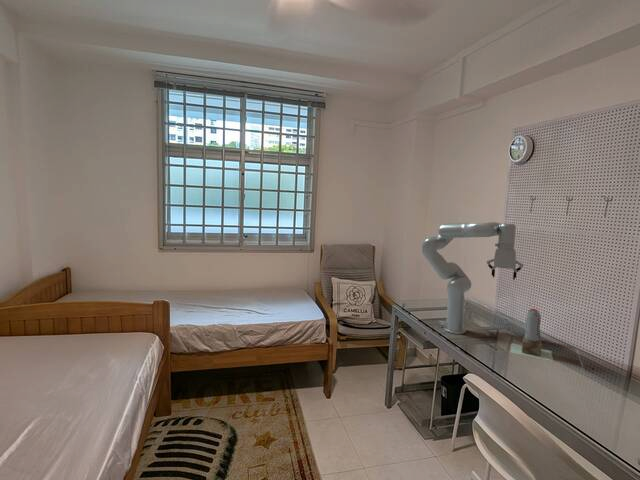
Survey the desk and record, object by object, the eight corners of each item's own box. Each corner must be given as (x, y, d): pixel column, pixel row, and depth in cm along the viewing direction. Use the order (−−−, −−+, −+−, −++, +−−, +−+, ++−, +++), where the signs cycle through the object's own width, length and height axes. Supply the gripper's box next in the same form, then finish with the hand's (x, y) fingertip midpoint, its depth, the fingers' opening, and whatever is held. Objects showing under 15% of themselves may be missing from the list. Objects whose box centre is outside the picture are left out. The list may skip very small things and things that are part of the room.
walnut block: (521, 352, 172) (522, 341, 171) (522, 346, 179) (522, 336, 178) (540, 356, 168) (541, 345, 167) (540, 350, 175) (541, 339, 174)
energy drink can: (525, 336, 177) (528, 309, 175) (539, 339, 173) (541, 311, 172) (523, 340, 172) (526, 312, 171) (537, 343, 169) (540, 314, 167)
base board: (510, 354, 173) (510, 352, 172) (511, 345, 184) (511, 343, 184) (553, 363, 163) (553, 361, 163) (551, 353, 175) (551, 350, 174)
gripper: (487, 246, 182) (485, 277, 184) (524, 248, 173) (522, 281, 175) (488, 244, 188) (486, 274, 190) (524, 247, 180) (522, 278, 182)
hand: (503, 278), depth 183 cm, fingers open, 9 cm apart
